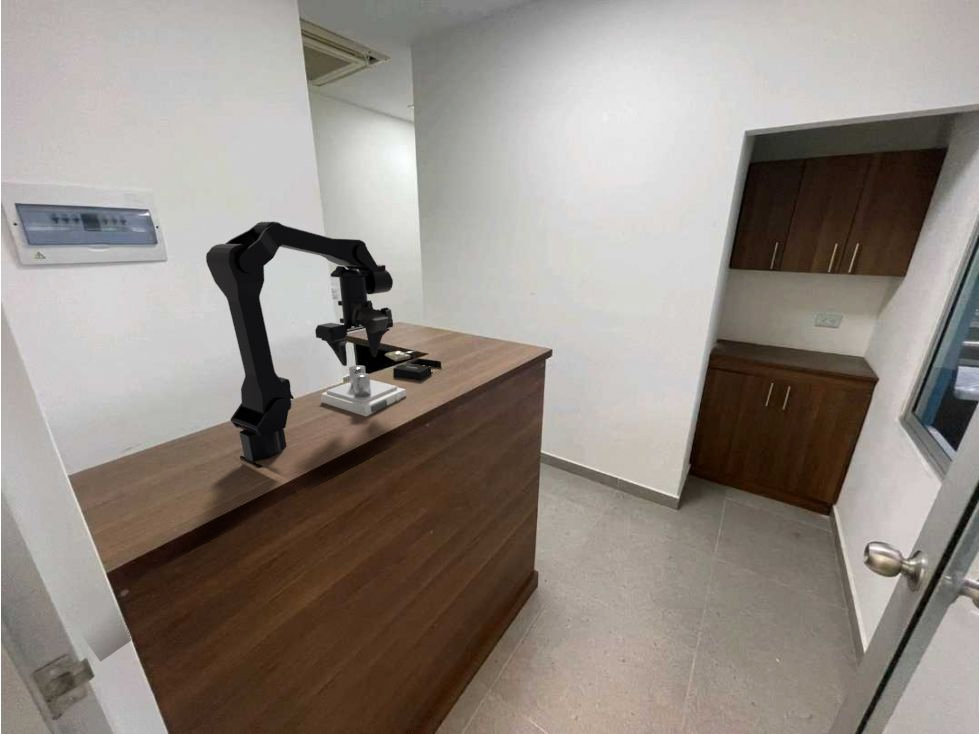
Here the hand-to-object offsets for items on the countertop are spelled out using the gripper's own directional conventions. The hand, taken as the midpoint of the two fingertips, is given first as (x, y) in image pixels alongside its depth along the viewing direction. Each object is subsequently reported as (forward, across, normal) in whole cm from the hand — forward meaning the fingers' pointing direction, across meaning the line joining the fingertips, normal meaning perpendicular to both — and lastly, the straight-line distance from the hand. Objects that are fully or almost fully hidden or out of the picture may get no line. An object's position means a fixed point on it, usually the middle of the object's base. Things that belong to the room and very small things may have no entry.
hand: (360, 360), depth 93 cm
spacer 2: (+9, 0, 0) cm, 9 cm away
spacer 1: (+9, +4, +6) cm, 11 cm away
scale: (+12, +3, +3) cm, 13 cm away
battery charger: (+13, +26, +4) cm, 29 cm away
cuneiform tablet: (+10, +32, +14) cm, 36 cm away
